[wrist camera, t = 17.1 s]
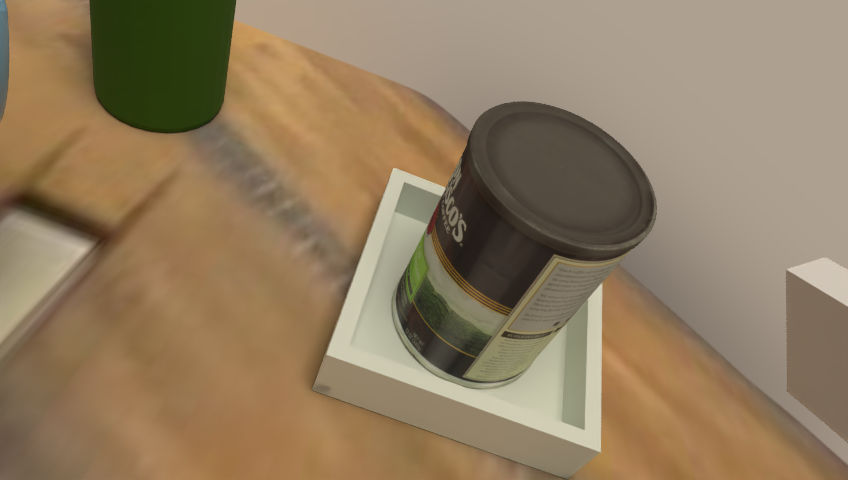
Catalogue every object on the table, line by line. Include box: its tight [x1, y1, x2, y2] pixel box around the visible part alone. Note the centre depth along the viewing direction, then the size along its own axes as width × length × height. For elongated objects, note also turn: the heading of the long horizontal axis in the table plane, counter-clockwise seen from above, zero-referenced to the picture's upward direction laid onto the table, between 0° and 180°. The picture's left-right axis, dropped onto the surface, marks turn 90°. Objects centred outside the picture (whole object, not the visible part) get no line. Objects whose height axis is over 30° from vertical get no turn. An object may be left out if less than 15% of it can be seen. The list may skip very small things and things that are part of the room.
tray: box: [312, 168, 602, 479], centre depth 43 cm, size 16×16×4 cm
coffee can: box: [392, 102, 657, 389], centre depth 39 cm, size 10×10×14 cm
